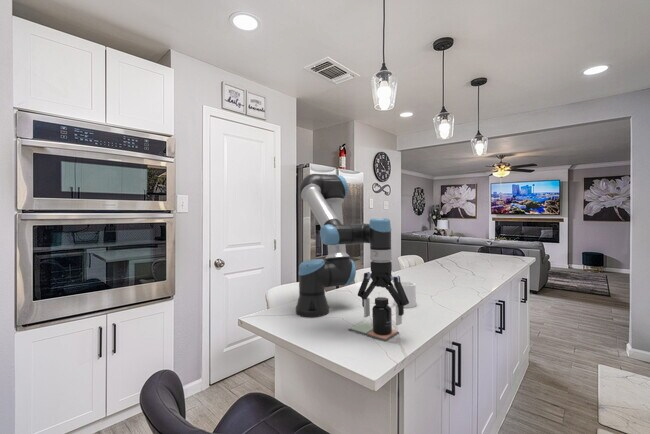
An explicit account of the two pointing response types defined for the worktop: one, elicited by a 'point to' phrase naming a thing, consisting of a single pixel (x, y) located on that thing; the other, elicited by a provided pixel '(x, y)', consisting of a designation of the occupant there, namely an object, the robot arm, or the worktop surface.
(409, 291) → the mug
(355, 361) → the worktop surface
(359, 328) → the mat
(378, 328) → the supplement bottle
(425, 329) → the worktop surface
